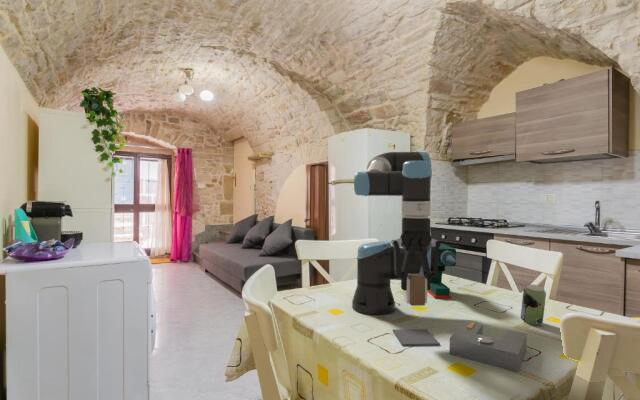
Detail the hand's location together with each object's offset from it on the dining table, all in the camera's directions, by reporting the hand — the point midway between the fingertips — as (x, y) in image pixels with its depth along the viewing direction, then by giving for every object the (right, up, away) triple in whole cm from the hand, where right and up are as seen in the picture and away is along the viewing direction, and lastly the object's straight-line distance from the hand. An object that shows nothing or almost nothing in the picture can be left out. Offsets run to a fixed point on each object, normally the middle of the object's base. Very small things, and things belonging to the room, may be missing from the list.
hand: (415, 301), depth 97 cm
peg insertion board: (+16, -10, -8) cm, 21 cm away
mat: (0, -11, 0) cm, 11 cm away
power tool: (+22, -11, +42) cm, 49 cm away
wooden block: (0, -1, 0) cm, 1 cm away
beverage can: (+40, -11, +13) cm, 44 cm away
